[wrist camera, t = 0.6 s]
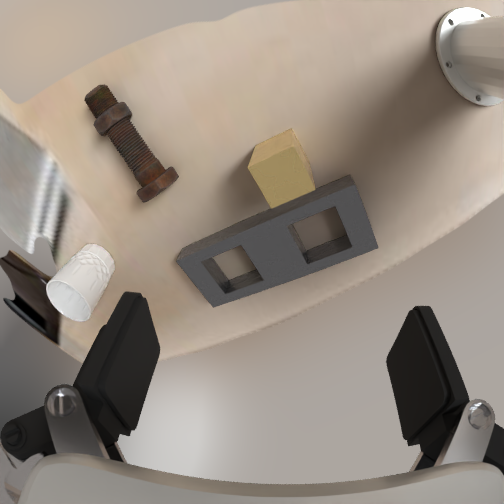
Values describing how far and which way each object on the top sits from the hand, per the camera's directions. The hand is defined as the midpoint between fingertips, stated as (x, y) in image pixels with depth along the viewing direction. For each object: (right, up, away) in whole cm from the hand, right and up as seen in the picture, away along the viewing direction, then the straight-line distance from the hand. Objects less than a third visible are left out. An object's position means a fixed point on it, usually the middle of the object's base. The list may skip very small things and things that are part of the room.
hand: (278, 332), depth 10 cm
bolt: (-15, +17, +23) cm, 32 cm away
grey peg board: (+2, +4, +29) cm, 30 cm away
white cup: (-26, +1, +35) cm, 43 cm away
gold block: (+3, +14, +23) cm, 27 cm away
